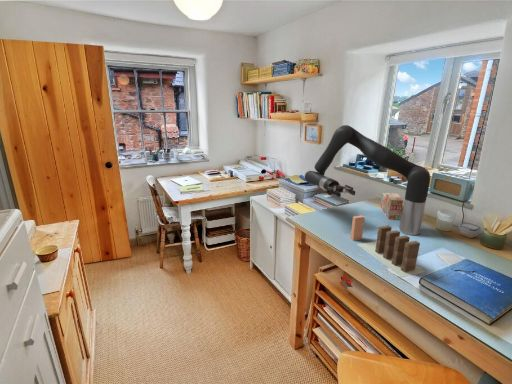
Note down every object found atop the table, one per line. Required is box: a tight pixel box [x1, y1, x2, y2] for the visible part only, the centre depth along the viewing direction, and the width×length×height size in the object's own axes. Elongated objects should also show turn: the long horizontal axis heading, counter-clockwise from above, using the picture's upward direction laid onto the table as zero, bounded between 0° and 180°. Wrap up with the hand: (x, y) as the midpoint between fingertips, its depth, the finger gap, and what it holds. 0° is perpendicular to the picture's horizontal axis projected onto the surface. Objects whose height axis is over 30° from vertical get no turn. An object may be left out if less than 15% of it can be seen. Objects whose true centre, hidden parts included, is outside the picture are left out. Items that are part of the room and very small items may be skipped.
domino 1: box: [375, 225, 392, 254], centre depth 124 cm, size 2×5×12 cm, turn 107°
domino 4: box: [401, 240, 421, 272], centre depth 110 cm, size 2×5×12 cm, turn 107°
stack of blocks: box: [380, 192, 404, 221], centre depth 169 cm, size 21×6×12 cm, turn 169°
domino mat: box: [357, 240, 426, 278], centre depth 122 cm, size 27×12×1 cm, turn 17°
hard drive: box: [435, 252, 463, 266], centre depth 118 cm, size 2×8×12 cm
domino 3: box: [392, 234, 411, 266], centre depth 115 cm, size 2×5×12 cm, turn 107°
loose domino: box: [350, 215, 365, 241], centre depth 136 cm, size 2×5×12 cm, turn 107°
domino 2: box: [383, 229, 401, 259], centre depth 120 cm, size 2×5×12 cm, turn 107°
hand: (347, 194), depth 141 cm, fingers open, 8 cm apart
